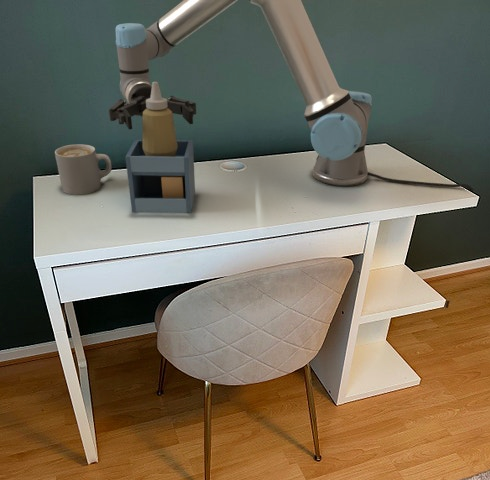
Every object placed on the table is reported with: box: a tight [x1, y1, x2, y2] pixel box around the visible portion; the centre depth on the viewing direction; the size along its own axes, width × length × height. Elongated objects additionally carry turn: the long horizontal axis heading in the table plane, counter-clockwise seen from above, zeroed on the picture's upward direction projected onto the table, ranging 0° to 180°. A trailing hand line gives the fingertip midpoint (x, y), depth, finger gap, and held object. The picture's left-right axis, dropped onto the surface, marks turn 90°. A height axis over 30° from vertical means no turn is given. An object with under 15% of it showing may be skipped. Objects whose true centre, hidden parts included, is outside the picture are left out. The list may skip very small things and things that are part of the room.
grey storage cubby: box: [125, 139, 196, 214], centre depth 121 cm, size 14×12×14 cm
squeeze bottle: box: [142, 81, 178, 157], centre depth 114 cm, size 8×8×18 cm
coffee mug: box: [54, 143, 112, 196], centre depth 131 cm, size 13×10×10 cm
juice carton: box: [161, 176, 186, 198], centre depth 122 cm, size 5×5×8 cm
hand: (161, 120), depth 110 cm, fingers open, 13 cm apart
